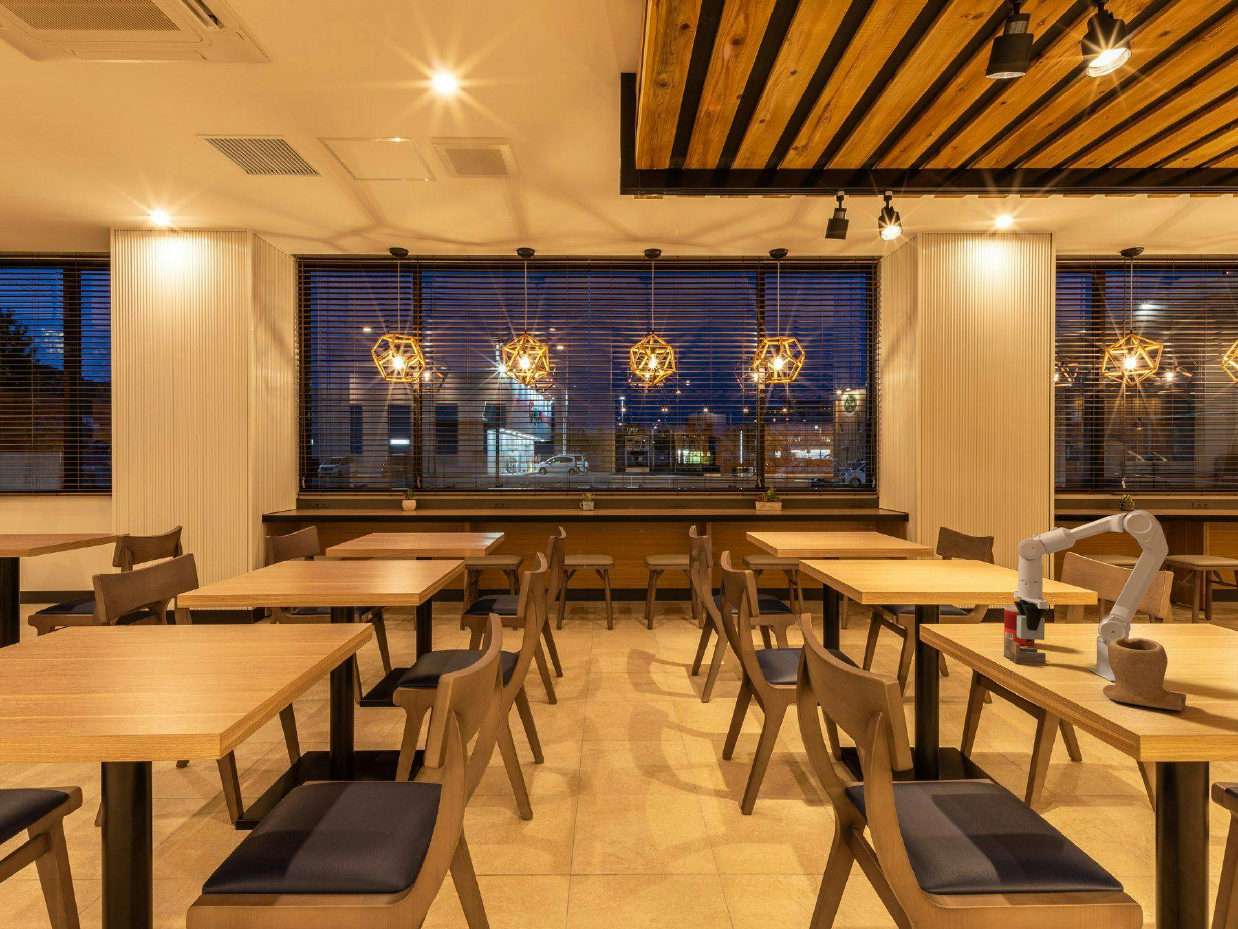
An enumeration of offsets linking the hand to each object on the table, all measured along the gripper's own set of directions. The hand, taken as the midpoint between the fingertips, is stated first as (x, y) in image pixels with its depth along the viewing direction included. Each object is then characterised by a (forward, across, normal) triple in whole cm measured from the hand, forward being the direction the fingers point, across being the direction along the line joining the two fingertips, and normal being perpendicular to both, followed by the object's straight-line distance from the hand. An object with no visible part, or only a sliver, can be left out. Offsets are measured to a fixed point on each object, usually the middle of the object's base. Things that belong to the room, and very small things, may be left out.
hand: (1029, 628), depth 172 cm
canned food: (+9, -18, +5) cm, 21 cm away
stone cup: (+9, +31, +10) cm, 34 cm away
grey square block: (+3, 0, 0) cm, 3 cm away
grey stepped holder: (+9, +1, -1) cm, 9 cm away
